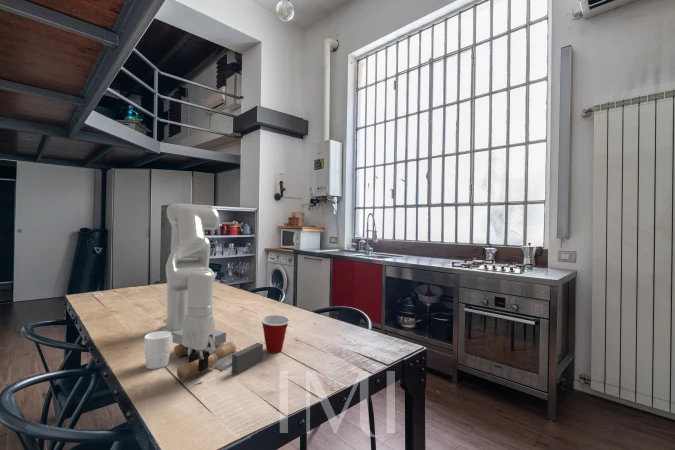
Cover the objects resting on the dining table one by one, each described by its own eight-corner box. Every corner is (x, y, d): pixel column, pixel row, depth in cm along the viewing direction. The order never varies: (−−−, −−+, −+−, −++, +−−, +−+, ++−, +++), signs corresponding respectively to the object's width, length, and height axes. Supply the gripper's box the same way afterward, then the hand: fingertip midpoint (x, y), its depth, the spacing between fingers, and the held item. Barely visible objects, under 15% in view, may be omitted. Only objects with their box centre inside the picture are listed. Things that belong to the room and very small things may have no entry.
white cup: (151, 372, 102) (152, 340, 102) (138, 366, 106) (139, 335, 106) (175, 363, 109) (176, 334, 109) (162, 358, 113) (163, 329, 113)
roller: (178, 364, 96) (185, 370, 95) (211, 351, 107) (218, 356, 105) (175, 375, 97) (182, 381, 95) (209, 361, 107) (216, 366, 105)
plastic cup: (274, 358, 114) (274, 324, 114) (254, 351, 121) (254, 319, 121) (295, 349, 123) (295, 318, 123) (275, 342, 129) (276, 313, 130)
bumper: (231, 373, 102) (232, 354, 102) (257, 359, 113) (257, 342, 113) (237, 375, 101) (237, 356, 101) (262, 361, 112) (262, 343, 112)
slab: (172, 342, 117) (172, 332, 117) (195, 334, 126) (196, 325, 126) (203, 350, 109) (203, 340, 109) (225, 341, 118) (226, 332, 118)
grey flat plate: (209, 366, 107) (209, 363, 107) (235, 354, 118) (235, 351, 118) (222, 370, 104) (222, 367, 104) (248, 357, 115) (248, 354, 115)
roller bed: (173, 355, 115) (173, 344, 115) (201, 345, 126) (201, 334, 126) (209, 366, 107) (209, 354, 107) (235, 354, 117) (236, 343, 118)
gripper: (171, 309, 101) (170, 367, 101) (209, 318, 94) (207, 380, 94) (191, 304, 108) (190, 358, 108) (228, 312, 100) (226, 370, 101)
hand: (198, 368), depth 101 cm, fingers closed on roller, 3 cm apart
